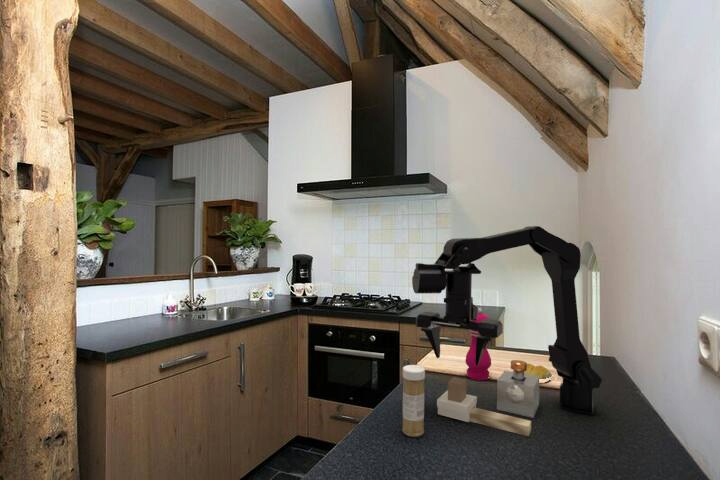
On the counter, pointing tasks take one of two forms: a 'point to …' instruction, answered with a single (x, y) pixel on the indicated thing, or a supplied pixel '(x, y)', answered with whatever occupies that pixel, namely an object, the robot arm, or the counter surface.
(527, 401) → the cabinet
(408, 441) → the counter surface
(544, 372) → the bread roll
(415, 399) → the sprinkles bottle
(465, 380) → the carriage
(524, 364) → the plunger
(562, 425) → the counter surface
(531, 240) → the robot arm
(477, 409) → the rail
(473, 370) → the pepper mill
